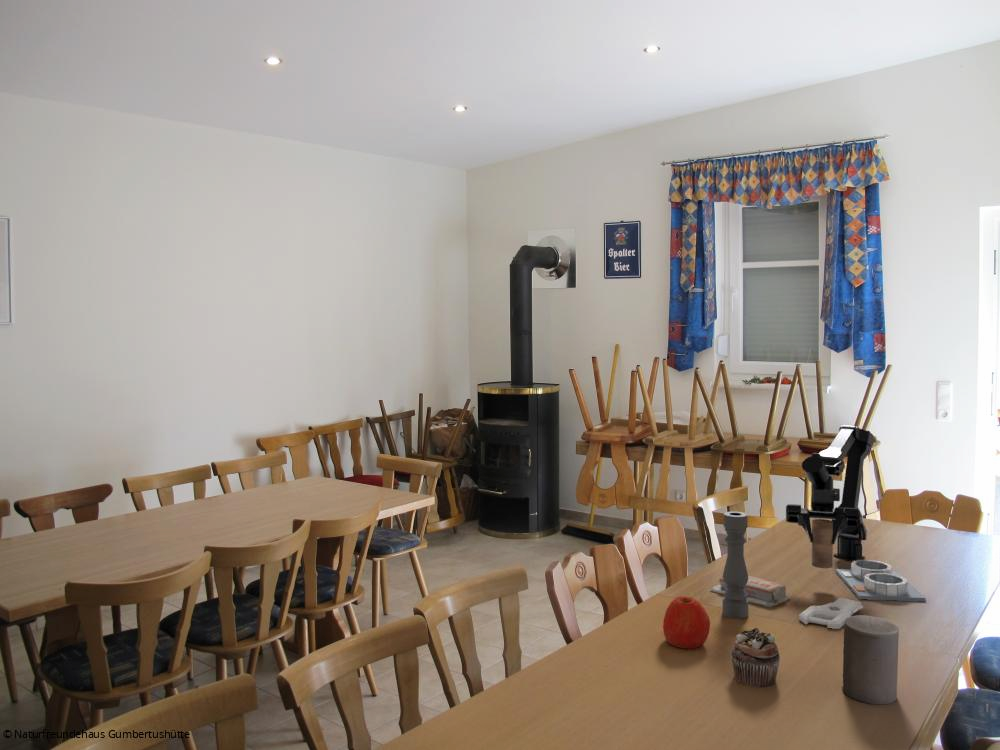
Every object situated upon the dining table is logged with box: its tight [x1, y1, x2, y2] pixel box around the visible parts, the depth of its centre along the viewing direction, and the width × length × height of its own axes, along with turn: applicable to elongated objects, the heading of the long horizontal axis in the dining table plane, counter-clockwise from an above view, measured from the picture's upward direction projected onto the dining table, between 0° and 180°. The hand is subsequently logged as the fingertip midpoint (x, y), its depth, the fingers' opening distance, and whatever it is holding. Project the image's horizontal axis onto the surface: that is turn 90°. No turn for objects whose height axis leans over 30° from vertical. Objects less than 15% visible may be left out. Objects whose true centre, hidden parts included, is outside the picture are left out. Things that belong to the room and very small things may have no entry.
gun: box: [798, 596, 864, 630], centre depth 196 cm, size 18×3×10 cm
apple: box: [662, 596, 711, 649], centre depth 181 cm, size 10×10×10 cm
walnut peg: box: [811, 518, 834, 569], centre depth 217 cm, size 5×5×12 cm
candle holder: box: [722, 511, 749, 620], centre depth 198 cm, size 6×6×25 cm
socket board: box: [835, 559, 927, 603], centre depth 218 cm, size 23×16×4 cm
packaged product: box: [710, 575, 791, 608], centre depth 213 cm, size 18×5×10 cm
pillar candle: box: [841, 614, 900, 705], centre depth 155 cm, size 10×10×15 cm
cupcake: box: [729, 627, 781, 688], centre depth 163 cm, size 10×10×10 cm
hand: (822, 542), depth 216 cm, fingers closed on walnut peg, 5 cm apart
